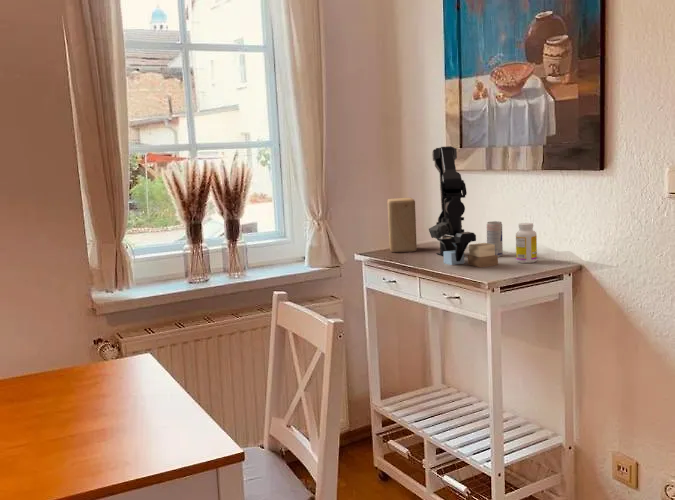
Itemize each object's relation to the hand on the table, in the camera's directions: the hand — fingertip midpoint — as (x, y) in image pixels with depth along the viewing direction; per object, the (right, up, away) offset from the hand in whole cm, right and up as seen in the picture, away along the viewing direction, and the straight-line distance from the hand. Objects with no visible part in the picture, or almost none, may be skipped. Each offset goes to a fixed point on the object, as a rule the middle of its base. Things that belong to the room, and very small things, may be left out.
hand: (453, 260), depth 232 cm
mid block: (+8, +2, -5) cm, 10 cm away
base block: (+9, -2, -5) cm, 10 cm away
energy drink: (+16, +1, +10) cm, 19 cm away
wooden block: (-14, +3, +33) cm, 36 cm away
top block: (0, -1, 0) cm, 1 cm away
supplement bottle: (+24, -1, -4) cm, 24 cm away
